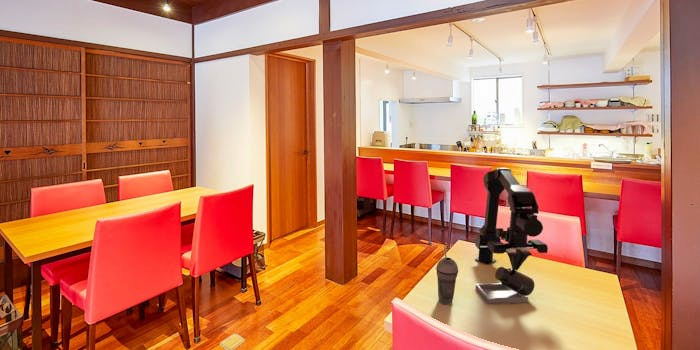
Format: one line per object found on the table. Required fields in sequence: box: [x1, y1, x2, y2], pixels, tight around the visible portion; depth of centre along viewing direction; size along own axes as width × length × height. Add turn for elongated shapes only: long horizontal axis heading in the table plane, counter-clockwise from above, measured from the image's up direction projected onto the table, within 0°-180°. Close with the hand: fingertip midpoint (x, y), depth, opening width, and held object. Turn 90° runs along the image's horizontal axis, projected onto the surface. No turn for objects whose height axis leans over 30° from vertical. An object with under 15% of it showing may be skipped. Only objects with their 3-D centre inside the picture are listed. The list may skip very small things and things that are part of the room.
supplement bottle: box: [494, 266, 535, 297], centre depth 124 cm, size 7×7×12 cm
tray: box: [475, 282, 529, 305], centre depth 124 cm, size 14×10×2 cm
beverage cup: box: [435, 244, 459, 306], centre depth 119 cm, size 7×7×20 cm
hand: (514, 269), depth 123 cm, fingers closed
